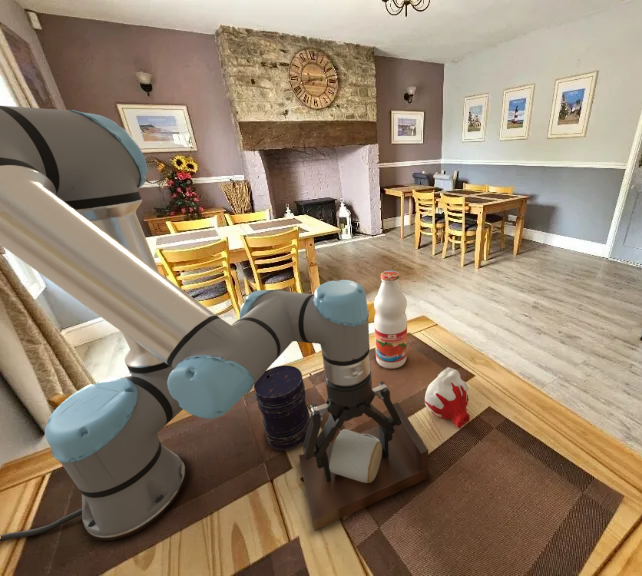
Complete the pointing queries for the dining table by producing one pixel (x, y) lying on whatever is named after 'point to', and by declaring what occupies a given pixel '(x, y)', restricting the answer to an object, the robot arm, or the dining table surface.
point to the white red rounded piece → (448, 397)
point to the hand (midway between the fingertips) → (356, 462)
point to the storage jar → (283, 406)
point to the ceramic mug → (356, 456)
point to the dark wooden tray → (353, 495)
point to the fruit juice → (390, 322)
